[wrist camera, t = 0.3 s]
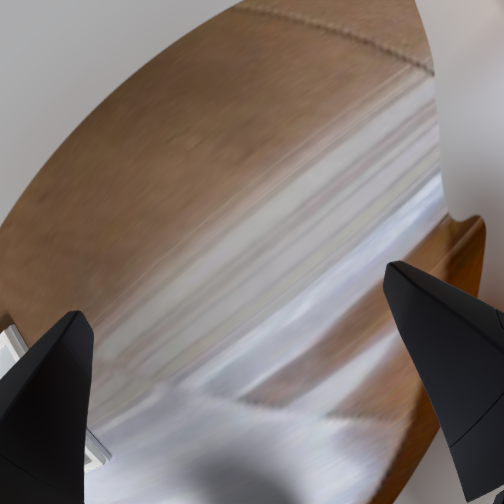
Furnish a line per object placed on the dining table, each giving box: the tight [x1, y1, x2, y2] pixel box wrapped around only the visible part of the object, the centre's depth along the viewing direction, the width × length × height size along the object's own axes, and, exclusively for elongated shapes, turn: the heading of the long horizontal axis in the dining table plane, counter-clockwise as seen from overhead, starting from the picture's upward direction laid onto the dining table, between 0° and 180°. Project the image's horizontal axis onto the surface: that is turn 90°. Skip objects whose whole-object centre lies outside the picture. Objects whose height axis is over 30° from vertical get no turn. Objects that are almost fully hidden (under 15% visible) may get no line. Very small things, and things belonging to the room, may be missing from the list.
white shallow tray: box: [0, 324, 112, 473], centre depth 21 cm, size 16×16×2 cm
